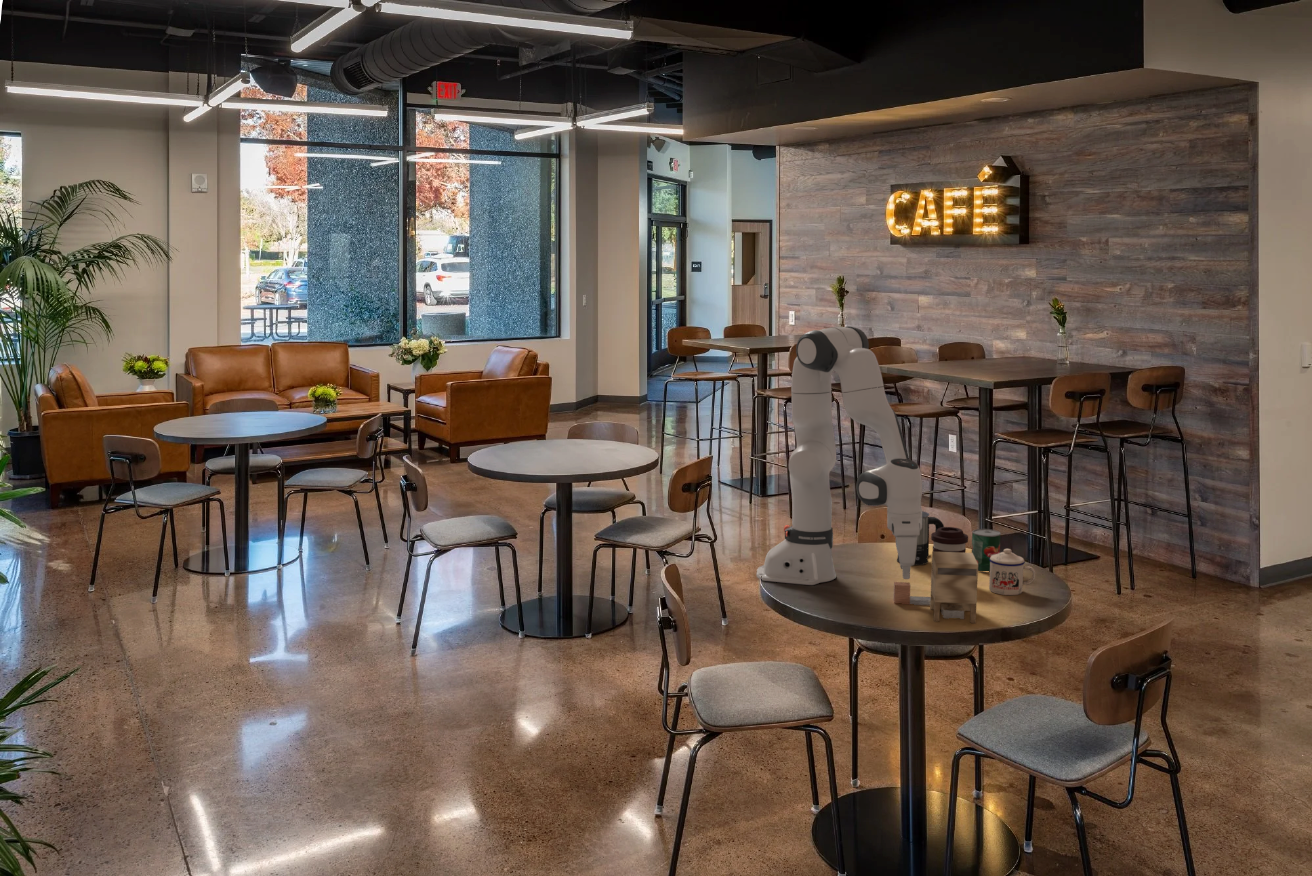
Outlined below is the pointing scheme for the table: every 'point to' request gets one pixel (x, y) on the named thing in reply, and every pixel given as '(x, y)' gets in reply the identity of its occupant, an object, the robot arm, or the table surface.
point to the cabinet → (954, 582)
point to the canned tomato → (985, 546)
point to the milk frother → (925, 538)
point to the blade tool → (907, 595)
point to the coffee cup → (949, 540)
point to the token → (952, 611)
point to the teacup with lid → (1007, 573)
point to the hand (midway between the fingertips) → (905, 573)
